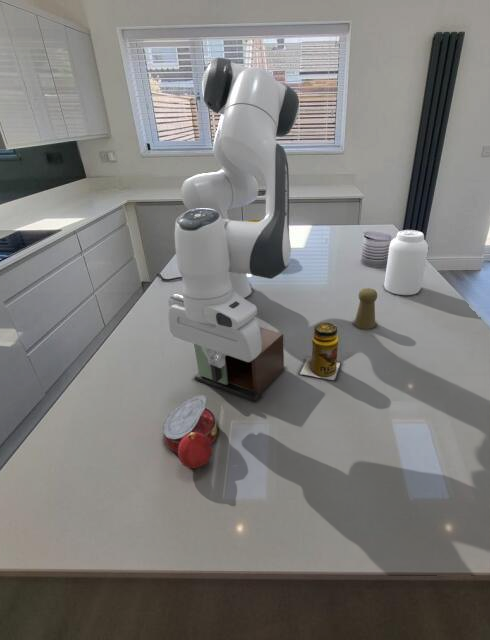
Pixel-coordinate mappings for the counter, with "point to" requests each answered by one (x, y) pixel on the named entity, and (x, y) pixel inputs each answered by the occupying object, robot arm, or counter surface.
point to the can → (375, 248)
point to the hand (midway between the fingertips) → (217, 364)
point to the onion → (195, 450)
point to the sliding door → (210, 367)
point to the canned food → (189, 422)
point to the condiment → (323, 353)
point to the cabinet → (253, 368)
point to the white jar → (406, 263)
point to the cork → (366, 309)
